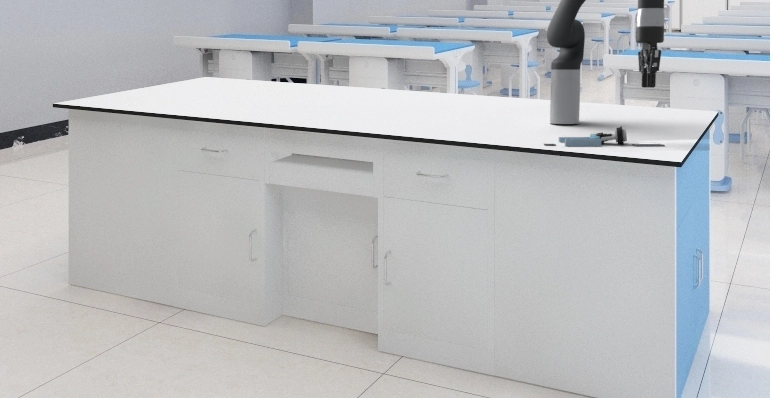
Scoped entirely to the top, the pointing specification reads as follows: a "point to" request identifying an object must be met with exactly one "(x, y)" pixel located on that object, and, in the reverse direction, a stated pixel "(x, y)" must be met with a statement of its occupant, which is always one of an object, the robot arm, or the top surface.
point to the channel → (580, 141)
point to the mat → (648, 145)
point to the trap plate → (550, 144)
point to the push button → (611, 136)
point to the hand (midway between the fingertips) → (648, 87)
